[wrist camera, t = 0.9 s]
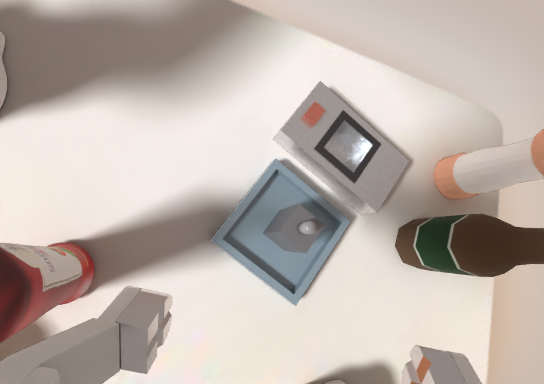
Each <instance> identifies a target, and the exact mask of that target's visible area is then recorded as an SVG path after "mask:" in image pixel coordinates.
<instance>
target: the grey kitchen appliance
mask: <svg viewBox="0 0 544 384" xmlns="http://www.w3.org/2000/svg"><path fill="white" fill-rule="evenodd" d="M273 140H274V141H275V142H276V143H278V144H279V145H280V146H281V147H282V148H284V149H285V150H286V151H287V152H288V153H289V154H291V155H292V156H293V157H294V158H295V159H297V160H298V161H299V162H300V163H301V164H302V165H304V166H305V167H306V168H307V169H308V170H310V171H311V172H312V173H313V174H314V175H315V176H317V177H318V178H319V179H320V180H321V181H323V182H324V183H325V184H326V185H327V186H328V187H330V188H331V189H332V190H333V191H334V192H336V193H337V194H338V195H339V196H340V197H341V198H343V199H344V200H345V201H346V202H347V203H349V204H350V205H351V206H352V207H353V208H354V209H356V210H357V211H358V212H359V213H360V214H362V215H365V214H372V213H377V212H378V211H379V209H380V208H381V206H382V204H383V203H384V201H385V200H386V198H387V196H388V195H389V193H390V192H391V190H392V188H393V187H394V185H395V184H396V182H397V180H398V179H399V177H400V176H401V174H402V172H403V171H404V169H405V168H406V166H407V164H408V163H409V160H408V159H407V158H406V157H405V156H403V155H402V154H401V153H400V152H399V151H398V150H397V149H396V148H395V147H393V146H392V145H391V144H390V143H389V142H388V141H387V140H386V139H384V138H383V137H382V136H381V135H380V134H379V133H378V132H377V131H376V130H374V129H373V128H372V127H371V126H370V125H369V124H368V123H367V122H366V121H364V120H363V119H362V118H361V117H360V116H359V115H358V114H357V113H355V112H354V111H353V110H352V109H351V108H350V107H349V106H348V105H347V104H345V103H344V102H343V101H342V100H341V99H340V98H339V97H338V96H336V95H335V94H334V93H333V92H332V91H331V90H330V89H329V88H328V87H326V86H325V85H324V84H323V83H322V82H321V81H320V82H319V83H318V84H317V85H316V86H315V88H314V89H313V90H312V91H311V92H310V93H309V95H308V96H307V97H306V98H305V100H304V101H303V102H302V103H301V105H300V106H299V107H298V108H297V109H296V111H295V112H294V113H293V114H292V116H291V117H290V118H289V119H288V121H287V122H286V123H285V124H284V125H283V127H282V128H281V129H280V130H279V132H278V133H277V134H276V135H275V137H274V138H273Z"/></svg>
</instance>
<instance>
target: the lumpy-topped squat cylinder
mask: <svg viewBox="0 0 544 384" xmlns="http://www.w3.org/2000/svg"><path fill="white" fill-rule="evenodd" d="M323 384H347V383H345V382H344V381H342V380H339V379H335V380H331V381H328V382H326V383H323Z"/></svg>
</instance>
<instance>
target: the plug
mask: <svg viewBox="0 0 544 384" xmlns="http://www.w3.org/2000/svg"><path fill="white" fill-rule="evenodd" d="M324 227H325V225H324V224H323V223H322V222H321V221H319V220H318V219H317V218H316V217H315V216H313V215H312V214H311V213H310V212H308V211H307V210H306V209H305V208H304V207H302V206H301V205H300V204H298V205H295V206H292V207H288V208H285V209H282V210H279V212H278V213H277V214H276V216H275V217H274V218H273V220H272V221H271V222H270V224H269V225H268V226H267V228H266V229H265V231H264V232H263V234H264V235H265V236H267V237H268V238H269V239H270V240H272V241H273V242H274V243H275V244H277V245H278V246H279V247H281V248H282V249H283V250H284V251H290V252H299V253H307V252H308V250H309V249H310V247H311V246H312V244H313V243H314V241H315V240H316V238H317V237H318V235H319V234H320V232H321V231H322V229H323V228H324Z"/></svg>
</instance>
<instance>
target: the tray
mask: <svg viewBox="0 0 544 384" xmlns="http://www.w3.org/2000/svg"><path fill="white" fill-rule="evenodd" d="M298 204H300V205H301V206H302V207H304V208H305V209H306V210H307V211H308V212H310V213H311V214H312V215H313V216H315V217H316V218H317V219H318V220H319V221H321V222H322V223H323V224H324V225H325V227H324V228H323V229H322V231H321V232H320V234H319V235H318V237H317V238H316V240H315V241H314V243H313V244H312V246H311V247H310V249H309V250H308V252H307V253H299V252H290V251H284V250H283V249H282V248H281V247H279V246H278V245H277V244H275V243H274V242H273V241H272V240H270V239H269V238H268V237H267V236H265V235H264V234H263V232H264V231H265V229H266V228H267V226H268V225H269V224H270V222H271V221H272V220H273V218H274V217H275V216H276V214H277V213H278V212H279V210H282V209H285V208H288V207H292V206H295V205H298ZM350 222H351V221H350V220H348V219H347V218H346V217H345V216H344V215H343V214H341V213H340V212H339V211H338V210H337V209H335V208H334V207H333V206H332V205H331V204H329V203H328V202H327V201H326V200H325V199H323V198H322V197H321V196H320V195H319V194H317V193H316V192H315V191H314V190H313V189H312V188H310V187H309V186H308V185H307V184H306V183H304V182H303V181H302V180H301V179H300V178H298V177H297V176H296V175H295V174H294V173H292V172H291V171H290V170H289V169H288V168H286V167H285V166H284V165H283V164H282V163H280V162H279V161H278V160H277V159H275V160H274V161H272V162H271V163H270V165H269V166H268V167H267V168H266V170H265V171H264V172H263V173H262V175H261V176H260V177H259V179H258V180H257V181H256V182H255V184H254V185H253V186H252V187H251V189H250V190H249V191H248V192H247V194H246V195H245V196H244V197H243V199H242V200H241V201H240V203H239V204H238V205H237V206H236V208H235V209H234V210H233V211H232V213H231V214H230V215H229V216H228V218H227V219H226V220H225V221H224V223H223V224H222V225H221V226H220V228H219V229H218V230H217V232H216V233H215V234H214V235H213V237H212V238H211V239H210V241H211V242H212V243H214V244H215V245H216V246H218V247H219V248H220V249H221V250H223V251H224V252H225V253H227V254H228V255H229V256H230V257H232V258H233V259H234V260H236V261H237V262H238V263H240V264H241V265H242V266H243V267H245V268H246V269H247V270H249V271H250V272H251V273H252V274H254V275H255V276H256V277H258V278H259V279H260V280H262V281H263V282H264V283H265V284H267V285H268V286H269V287H271V288H272V289H273V290H274V291H276V292H277V293H278V294H280V295H281V296H282V297H284V298H285V299H286V300H287V301H289V302H290V303H292V304H294V305H295V306H296V305H297V303H298V302H299V300H300V299H301V297H302V295H303V294H304V292H305V291H306V289H307V288H308V286H309V285H310V283H311V282H312V280H313V279H314V277H315V275H316V274H317V272H318V271H319V269H320V268H321V266H322V265H323V263H324V262H325V260H326V259H327V257H328V255H329V254H330V252H331V251H332V249H333V248H334V246H335V245H336V243H337V242H338V240H339V239H340V237H341V235H342V234H343V232H344V231H345V229H346V228H347V226H348V225H349V223H350Z"/></svg>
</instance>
